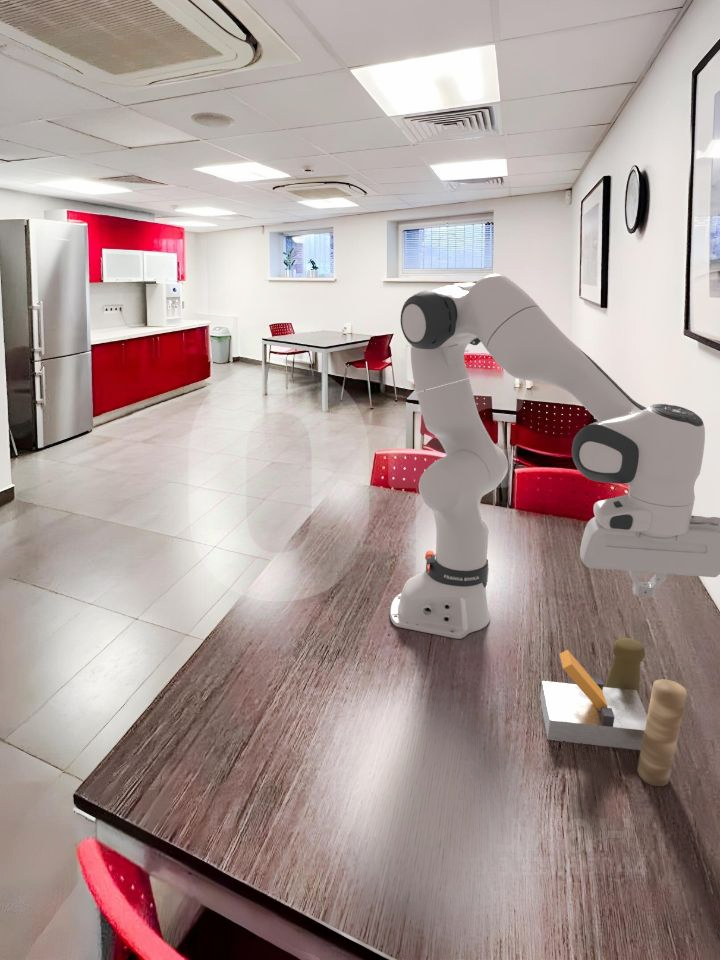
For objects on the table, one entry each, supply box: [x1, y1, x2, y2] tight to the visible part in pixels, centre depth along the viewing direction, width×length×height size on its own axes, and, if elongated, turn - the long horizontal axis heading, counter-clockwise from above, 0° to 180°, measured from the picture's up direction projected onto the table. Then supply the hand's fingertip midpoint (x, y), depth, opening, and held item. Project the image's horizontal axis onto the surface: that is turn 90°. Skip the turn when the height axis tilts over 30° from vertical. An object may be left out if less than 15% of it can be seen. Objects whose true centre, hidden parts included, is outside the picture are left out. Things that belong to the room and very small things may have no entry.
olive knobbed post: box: [604, 637, 646, 698], centre depth 106 cm, size 6×6×11 cm
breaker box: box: [539, 675, 648, 751], centre depth 99 cm, size 16×10×6 cm, turn 81°
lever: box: [559, 649, 608, 711], centre depth 98 cm, size 2×4×11 cm
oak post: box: [636, 678, 688, 787], centre depth 87 cm, size 4×4×16 cm
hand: (643, 594), depth 93 cm, fingers closed
